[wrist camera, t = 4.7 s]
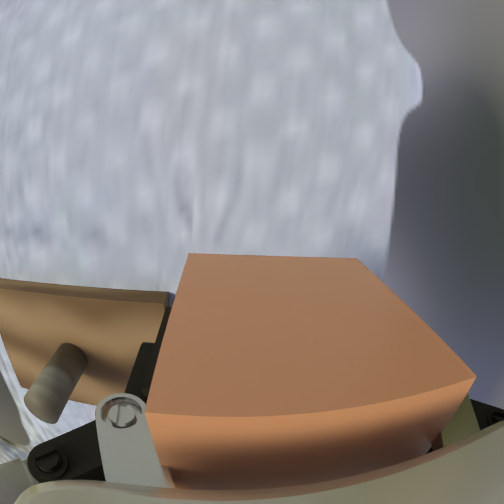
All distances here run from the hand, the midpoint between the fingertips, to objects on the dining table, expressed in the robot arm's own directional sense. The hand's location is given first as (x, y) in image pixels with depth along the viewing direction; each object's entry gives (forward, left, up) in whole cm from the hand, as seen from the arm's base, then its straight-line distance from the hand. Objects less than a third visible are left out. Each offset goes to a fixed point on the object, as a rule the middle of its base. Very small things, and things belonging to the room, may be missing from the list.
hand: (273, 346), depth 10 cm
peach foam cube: (0, 0, -1) cm, 1 cm away
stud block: (+10, -15, -12) cm, 22 cm away
